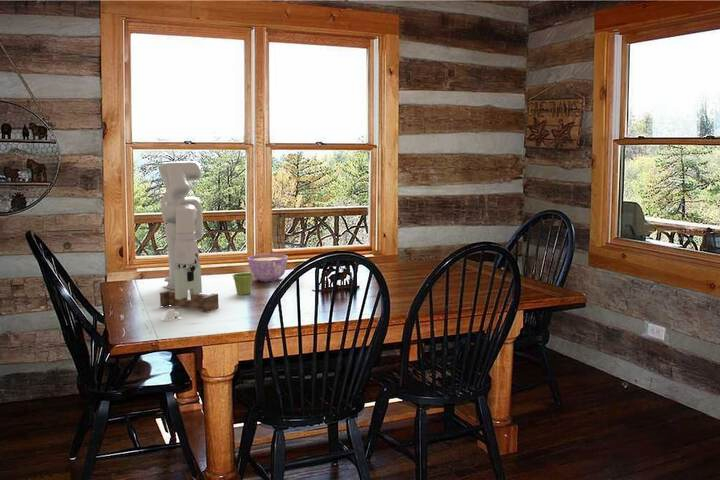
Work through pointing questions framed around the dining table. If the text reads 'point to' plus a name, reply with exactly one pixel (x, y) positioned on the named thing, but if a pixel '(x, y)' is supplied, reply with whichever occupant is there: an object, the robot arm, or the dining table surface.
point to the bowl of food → (268, 266)
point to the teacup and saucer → (172, 314)
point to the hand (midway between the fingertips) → (188, 280)
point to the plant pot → (243, 283)
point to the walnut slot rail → (190, 301)
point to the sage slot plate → (184, 285)
